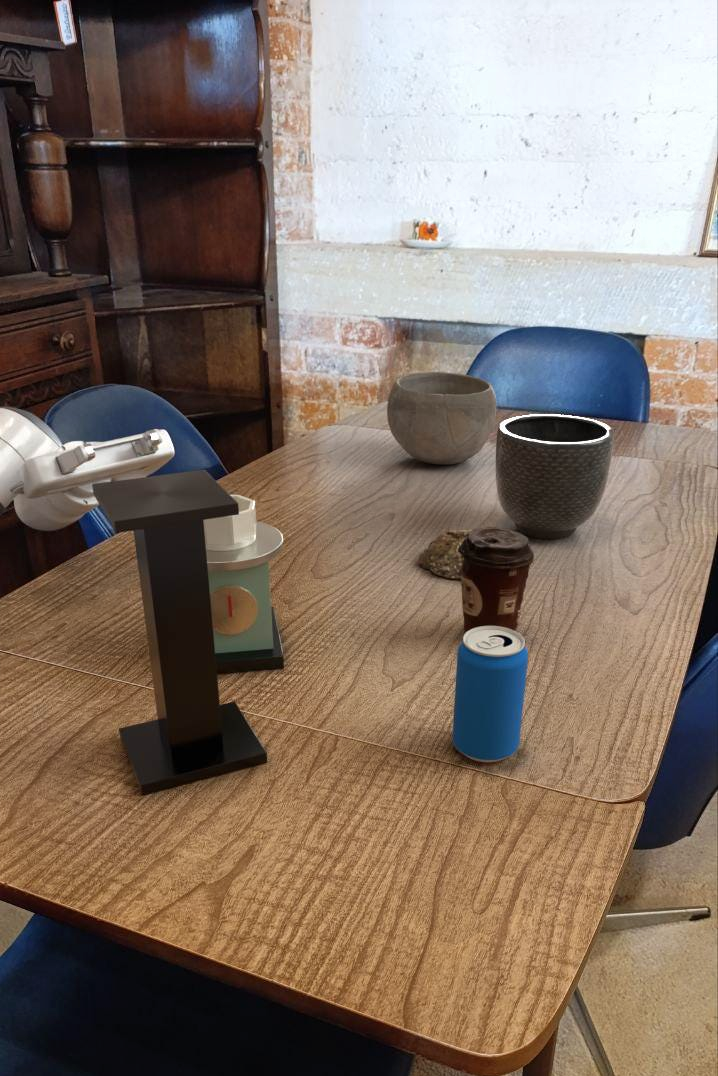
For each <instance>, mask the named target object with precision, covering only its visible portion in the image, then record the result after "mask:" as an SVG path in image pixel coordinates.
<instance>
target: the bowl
mask: <svg viewBox="0 0 718 1076" xmlns="http://www.w3.org/2000/svg"><path fill="white" fill-rule="evenodd" d="M497 405H498V403H497V397H496V393H495V390H494V388H493V386H492V384H491V383H490V382H489V381H486V380H484V379H482V378H479V377H475V376H472V375H468V374H463V373H457V372H449V371H447V372H446V371H420V372H413V373H408V374H404V375H402V376H400V377H398V378H397V379H396V380H395V381H394V383H393V385H392V386H391V389H390V392H389V396H388V399H387V405H386V416H387V423H388V427H389V431H390V433H391V435H392V436H393V438H394V440H395V441H396V442H397V443H398V445H400V447H401V448H402V449H403V450H404V451H405V452H406V453H407V454H409V455H410V456H411V457H413V458H414V459H416V460H418V461H420V462H423V463H427V464H433V465H455V464H459V463H462V462H465V461H467V460H469V459H471V458H473V457H474V456H475V455H477V454H478V453H479V452H480V451H481V450H482V449H483V448H484V446H485V445H486V444H487V443H488V442H487V441H488V440H489V438H490V436H491V434H492V432H493V429H494V425H495V422H496V416H497V407H498V406H497Z"/></svg>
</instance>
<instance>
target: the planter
mask: <svg viewBox="0 0 718 1076" xmlns="http://www.w3.org/2000/svg"><path fill="white" fill-rule="evenodd" d="M615 434H616V433H615V430H614V429H613V428H612V427H611V426H609V425H607V424H606V423H603V422H601V421H597V420H594V419H590V418H585V417H580V416H572V415H564V414H562V415H561V414H554V415H550V414H547V415H544V414H529V415H522V416H516V417H511V418H508V419H505V420H503V421H502V422H501V423H499V425H498V427H497V431H496V443H495V444H496V445H495V485H496V492H497V499H498V501H499V505H500V507H501V509H502V510H503V512H504V513H505V515H506V516H507V517H508V518H509V519H510V520H511V521H512V522H513V523H514V526H515V527H516V529H517V531H518V532H519V533H520V534H522V535H524V536H526V537H531V538H535V539H541V540H559V539H564V538H568V537H570V536H571V535H573V534H574V533H575V532H576V531H577V528H578V527H580V526H582V525H583V524H585V523H586V522H587V521H589V519H591V517H592V516H594V514H595V512H596V511H597V509H598V507H599V505H600V503H601V502H602V499H603V496H604V495H605V494H604V493H605V490H606V487H607V483H608V479H609V474H610V469H611V465H612V459H613V452H614V445H615V439H616V438H615V437H616V435H615Z"/></svg>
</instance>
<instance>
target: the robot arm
mask: <svg viewBox="0 0 718 1076" xmlns="http://www.w3.org/2000/svg"><path fill="white" fill-rule="evenodd" d="M174 456H175V448H174V444H173V442H172V439H171V437H170V435H169V433H168V432H167V430H166V429H164V428H163V429H158V428H153V429H149V430H146V431H145V432H144V433H139V434H138V433H137V434H134V435H130V436H124V437H120V438H115V439H111V440H107V441H83V440H72V441H68V442H66V443H64V444H63V443H62V441H61V439H60V438H59V436H58V435H57V434H56V433H55V432H54V430H53V429H52V428H51V427H50V426H49V425H48V424H47V423H45V421H43V420H42V419H40V418H39V417H38V416H36V414H34V413H32V412H29V411H27V410H24V409H21V408H17V407H12V406H0V518H1V517H2V516H3V515H4V513H5V512H6V510H7V508H8V506H9V505H10V504H11V503H12V502H13V505H14V510H15V513H16V515H17V517H18V518H19V519H20V521H21V522H22V523H23V524H25V526H27V527H29V528H30V529H34V530H37V531H43V532H53V531H54V532H55V531H58V530H62V529H64V528H66V527H68V526H70V525H72V524H74V523H76V522H77V521H79V520H80V519H81V518H83V517H84V516H85V515H86V514H89V513H90V512H91V511H93V510H94V509H96V508H98V507H99V506H100V505H99V503H98V501H97V499H96V498H95V496H94V494H93V487H92V484H97V483H105V482H112V481H120V480H128V479H135V478H143V477H149V476H151V475H152V474H154V473H155V472H157V471H158V470H160V469H161V468H162V467H163V466H165V465H166V464H167V463H168V462H169V461H170V460H172V459H173V458H174Z"/></svg>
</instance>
